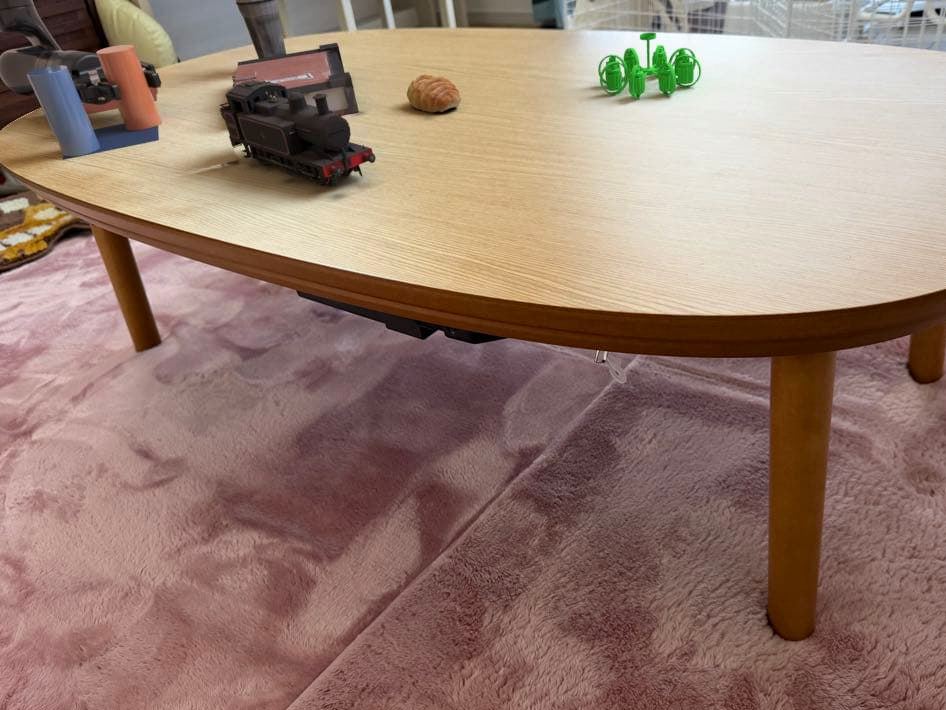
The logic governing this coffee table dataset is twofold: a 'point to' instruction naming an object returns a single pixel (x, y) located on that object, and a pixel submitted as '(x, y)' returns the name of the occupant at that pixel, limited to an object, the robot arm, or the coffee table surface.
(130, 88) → the tall orange cylinder
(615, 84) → the chandelier
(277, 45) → the beverage cup
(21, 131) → the coffee table surface
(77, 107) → the tall blue cylinder
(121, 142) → the blue mat
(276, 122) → the toy train
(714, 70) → the coffee table surface
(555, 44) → the coffee table surface
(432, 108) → the pastry
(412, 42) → the coffee table surface
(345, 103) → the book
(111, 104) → the terracotta mat
